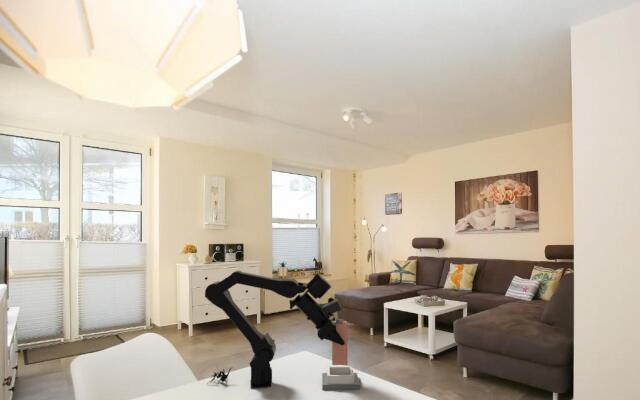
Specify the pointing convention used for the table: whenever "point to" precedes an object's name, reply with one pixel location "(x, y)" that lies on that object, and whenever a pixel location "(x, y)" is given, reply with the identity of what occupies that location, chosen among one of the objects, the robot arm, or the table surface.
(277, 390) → the table surface
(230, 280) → the robot arm
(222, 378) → the creature
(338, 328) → the pink square bar
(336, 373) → the grey socket base
